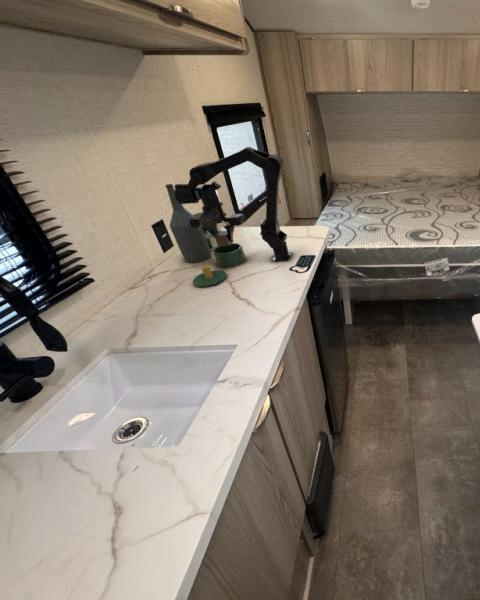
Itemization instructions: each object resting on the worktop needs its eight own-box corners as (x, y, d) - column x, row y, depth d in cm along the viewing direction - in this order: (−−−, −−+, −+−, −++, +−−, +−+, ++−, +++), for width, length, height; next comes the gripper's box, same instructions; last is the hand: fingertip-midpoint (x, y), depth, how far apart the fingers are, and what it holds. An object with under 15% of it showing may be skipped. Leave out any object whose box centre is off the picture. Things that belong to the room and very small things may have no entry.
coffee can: (200, 252, 141) (188, 221, 133) (201, 244, 148) (189, 214, 141) (226, 247, 144) (215, 216, 136) (226, 239, 152) (215, 210, 144)
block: (222, 241, 130) (219, 231, 127) (234, 241, 130) (230, 230, 127) (217, 246, 126) (213, 235, 124) (229, 246, 126) (225, 235, 124)
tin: (224, 256, 137) (220, 243, 133) (249, 255, 137) (245, 242, 133) (213, 268, 128) (208, 254, 125) (240, 267, 128) (235, 253, 125)
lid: (202, 273, 124) (197, 260, 121) (231, 272, 125) (227, 259, 121) (187, 288, 115) (181, 274, 112) (219, 287, 115) (213, 273, 112)
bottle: (180, 263, 132) (146, 188, 115) (191, 253, 140) (161, 181, 124) (206, 262, 132) (176, 187, 116) (216, 252, 141) (189, 180, 124)
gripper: (173, 209, 112) (191, 251, 121) (227, 207, 112) (241, 249, 121) (190, 200, 121) (205, 239, 130) (239, 198, 121) (251, 237, 130)
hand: (225, 241), depth 127 cm, fingers closed on block, 4 cm apart
